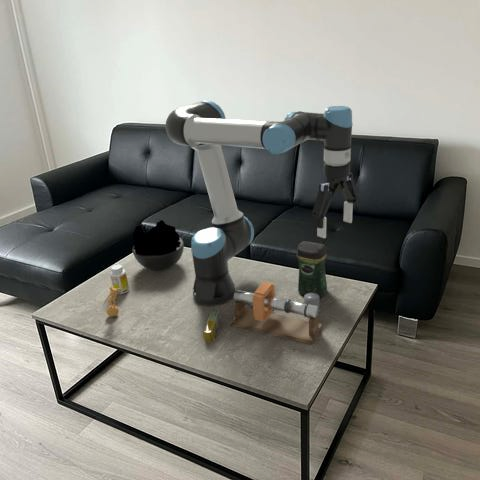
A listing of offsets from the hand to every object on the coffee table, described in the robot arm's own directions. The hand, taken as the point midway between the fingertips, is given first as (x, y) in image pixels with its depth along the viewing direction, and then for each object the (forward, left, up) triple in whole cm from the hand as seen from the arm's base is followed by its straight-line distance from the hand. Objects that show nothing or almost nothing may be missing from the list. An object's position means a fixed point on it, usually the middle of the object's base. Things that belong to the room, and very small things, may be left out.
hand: (334, 229), depth 147 cm
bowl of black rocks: (-71, +2, -28) cm, 77 cm away
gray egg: (-5, -7, -27) cm, 29 cm away
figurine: (-66, -32, -28) cm, 79 cm away
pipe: (-13, -18, -21) cm, 31 cm away
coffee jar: (-9, +5, -28) cm, 30 cm away
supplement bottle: (-75, -18, -28) cm, 82 cm away
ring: (-17, -18, -24) cm, 34 cm away
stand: (-13, -18, -27) cm, 35 cm away
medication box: (-31, -27, -28) cm, 50 cm away
